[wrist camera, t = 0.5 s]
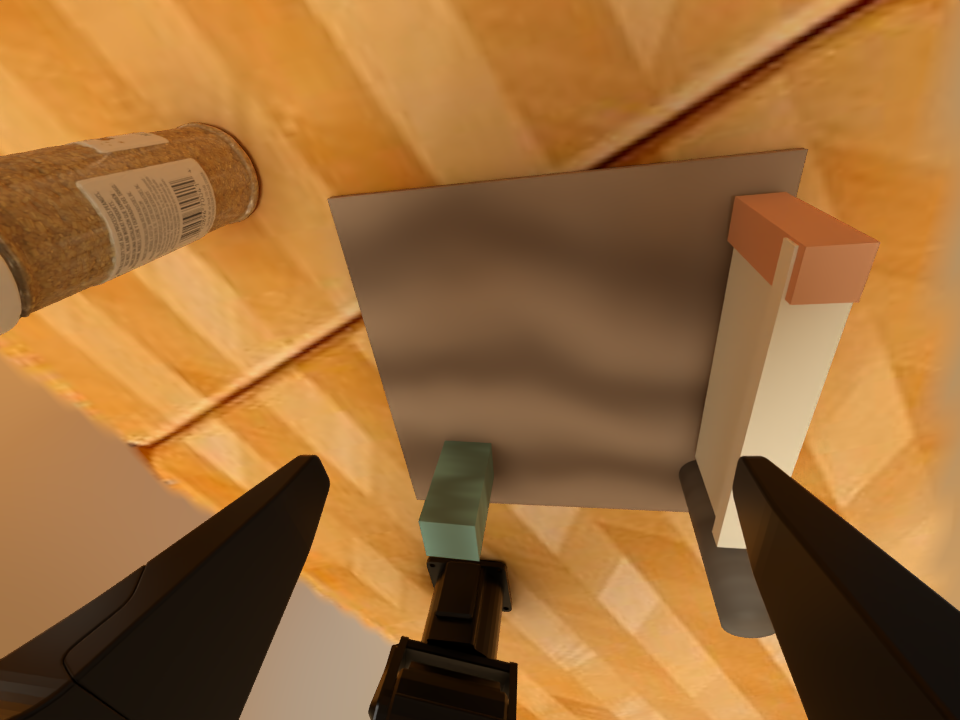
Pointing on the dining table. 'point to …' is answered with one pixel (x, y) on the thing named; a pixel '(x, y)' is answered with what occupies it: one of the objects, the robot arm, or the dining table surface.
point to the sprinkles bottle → (112, 208)
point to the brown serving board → (558, 342)
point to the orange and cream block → (775, 338)
